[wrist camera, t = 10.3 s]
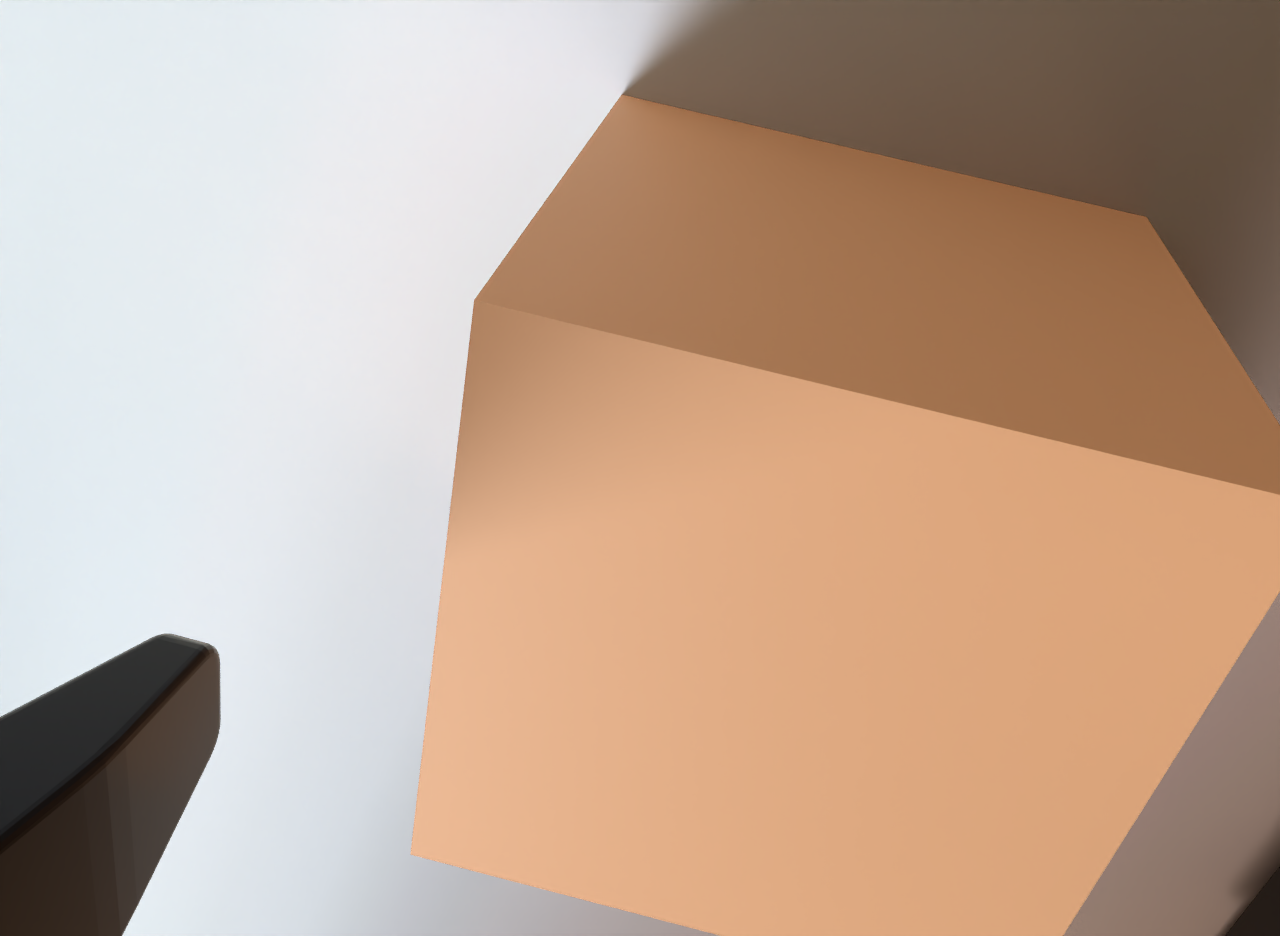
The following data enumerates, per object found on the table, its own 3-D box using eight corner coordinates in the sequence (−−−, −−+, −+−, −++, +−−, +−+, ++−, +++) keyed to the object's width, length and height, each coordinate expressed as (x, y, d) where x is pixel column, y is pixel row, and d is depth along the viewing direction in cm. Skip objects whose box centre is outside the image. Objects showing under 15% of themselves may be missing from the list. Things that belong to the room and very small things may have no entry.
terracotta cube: (1144, 214, 13) (1332, 508, 8) (965, 619, 16) (1014, 1012, 11) (623, 93, 13) (474, 301, 8) (549, 515, 16) (410, 854, 11)
